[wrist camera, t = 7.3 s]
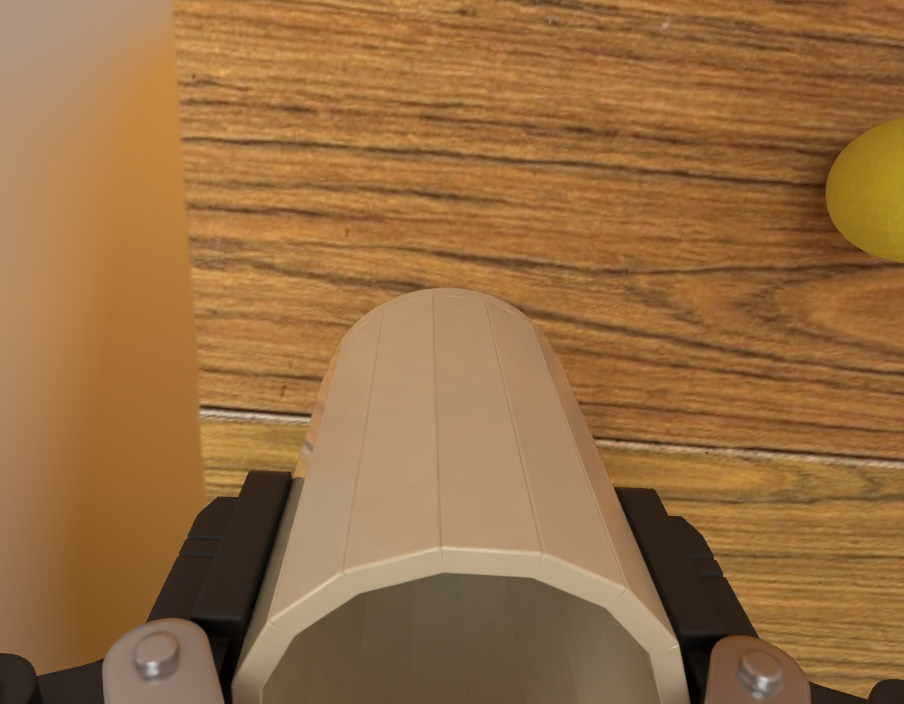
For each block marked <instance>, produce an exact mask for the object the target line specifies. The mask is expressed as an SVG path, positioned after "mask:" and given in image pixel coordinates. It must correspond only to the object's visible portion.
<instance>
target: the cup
mask: <svg viewBox="0 0 904 704" xmlns="http://www.w3.org/2000/svg"><path fill="white" fill-rule="evenodd" d="M231 701H232V704H691V700H690V695H689V690H688V685H687V680H686V675H685V670H684V665H683V660H682V656H681V651H680V646H679V643H678V640H677V638H676V635H675V633H674V631H673V628H672V626H671V624H670V621H669V619H668V616H667V614H666V612H665V609H664V607H663V604H662V602H661V600H660V597H659V595H658V592H657V590H656V588H655V585H654V583H653V581H652V578H651V576H650V573H649V571H648V569H647V566H646V564H645V561H644V559H643V557H642V554H641V552H640V549H639V547H638V545H637V542H636V540H635V538H634V535H633V533H632V530H631V528H630V526H629V523H628V521H627V518H626V516H625V514H624V511H623V509H622V506H621V504H620V502H619V499H618V497H617V495H616V492H615V490H614V487H613V485H612V483H611V480H610V478H609V475H608V473H607V471H606V468H605V466H604V463H603V461H602V459H601V456H600V454H599V452H598V449H597V447H596V444H595V442H594V440H593V437H592V435H591V432H590V430H589V428H588V425H587V423H586V420H585V418H584V416H583V413H582V411H581V409H580V406H579V404H578V401H577V399H576V397H575V394H574V392H573V389H572V387H571V385H570V382H569V380H568V377H567V375H566V373H565V370H564V368H563V366H562V363H561V361H560V359H559V357H558V356H557V355H556V353H555V352H554V350H553V348H552V346H551V344H550V342H549V341H548V340H547V338H546V337H545V335H544V334H543V332H542V331H541V330H540V329H539V328H538V327H537V326H536V325H535V324H534V322H533V321H532V320H531V319H529V318H528V317H527V316H526V315H524V314H523V313H522V312H521V311H519V310H518V309H516V308H515V307H513V306H511V305H510V304H508V303H506V302H504V301H502V300H500V299H497V298H495V297H493V296H490V295H487V294H483V293H480V292H477V291H472V290H465V289H459V288H435V289H425V290H420V291H415V292H411V293H407V294H404V295H402V296H399V297H396V298H393V299H391V300H389V301H387V302H385V303H383V304H381V305H379V306H378V307H376V308H375V309H373V310H372V311H370V312H369V313H367V314H366V315H365V316H363V317H362V318H361V319H360V320H359V321H358V322H357V323H356V324H355V325H353V327H352V328H351V329H350V330H349V331H348V333H347V334H346V335H345V336H344V337H343V339H342V341H341V342H340V344H339V345H338V347H337V349H336V350H335V353H334V355H333V357H332V359H331V362H330V364H329V368H328V370H327V372H326V374H325V376H324V378H323V380H322V383H321V387H320V390H319V393H318V397H317V400H316V403H315V407H314V410H313V413H312V417H311V420H310V423H309V427H308V430H307V433H306V437H305V440H304V443H303V447H302V450H301V453H300V457H299V460H298V463H297V467H296V470H295V473H294V477H293V480H292V483H291V486H290V490H289V493H288V496H287V500H286V503H285V506H284V510H283V513H282V516H281V520H280V523H279V526H278V530H277V533H276V536H275V540H274V543H273V546H272V550H271V553H270V556H269V560H268V563H267V566H266V570H265V573H264V576H263V580H262V583H261V586H260V590H259V593H258V596H257V600H256V603H255V606H254V610H253V613H252V616H251V620H250V623H249V626H248V629H247V633H246V636H245V639H244V643H243V646H242V649H241V653H240V656H239V659H238V663H237V666H236V669H235V673H234V676H233V679H232V683H231Z"/></svg>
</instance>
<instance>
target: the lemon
mask: <svg viewBox="0 0 904 704" xmlns="http://www.w3.org/2000/svg"><path fill="white" fill-rule="evenodd" d="M825 196H826V206H827V209H828V212H829V214H830V217H831V219H832V222H833V224H834V225H835V226H836V228H837V229H838V230H839V231H840V232H841V234H842V235H843V236H844V237H845V238H846V239H847V240H848V241H849V242H851V243H852V244H853V245H855V246H857V247H858V248H860V249H862V250H863V251H865V252H867V253H869V254H871V255H873V256H876V257H879V258H883V259H887V260H891V261H895V262H900V263H904V118H900V119H894V120H890V121H887V122H885V123H882V124H880V125H877V126H875V127H872V128H870V129H868V130H867V131H865V132H864V133H862V134H861V135H859V136H858V137H856V138H855V139H854V140H852V141H851V142H850V143H849V144H848V145H847V146H846V147H845V148H844V149H843V150H842V151H841V153H840V154H839V156H838V157H837V159H836V160H835V162H834V163H833V165H832V168H831V170H830V173H829V175H828V178H827V184H826V190H825Z"/></svg>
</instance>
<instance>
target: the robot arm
mask: <svg viewBox="0 0 904 704" xmlns="http://www.w3.org/2000/svg"><path fill="white" fill-rule="evenodd" d="M291 483H292V475H291V473H290V472H276V471H253V470H251V471H250V472H249V473H248V475H247V477H246V480H245V482H244V485H243V487H242V490H241V492H240V494H239V497H217V498H216V499H215V500H214V501H212V502H211V503H210V504H209V505H208V506H207V507H205V508H204V509H203V510H202V511H201V512H200V513H199V514H198V515H197V517H196V519H195V521H194V523H193V526H192V527H191V529H190V532H189V534H188V539H186V540H185V542H184V544H183V546H182V548H181V550H180V552H179V557H177V559H176V561H175V563H174V565H173V567H172V569H171V571H170V573H169V575H168V577H167V579H166V581H165V583H164V586H163V588H162V590H161V592H160V594H159V596H158V598H157V600H156V602H155V604H154V606H153V608H152V611H151V613H150V615H149V617H148V619H147V621H146V623H144V624H142V625H140V626H138V627H136V628H134V629H132V630H130V631H129V632H127V633H126V634H125V635H123V636H122V637H121V638H120V639H119V640H117V641H116V643H115V644H114V645H113V646H112V647H111V649H110V650H109V652H108V653H107V655H106V657H105V658H104V659H101V660H98V661H96V662H93V663H90V664H87V665H83V666H79V667H75V668H71V669H66V670H62V671H57V672H53V673H49V674H45V675H40V676H36V673H35V670H34V667H33V666H32V665H31V663H30V662H29V661H27V660H26V659H25V658H23V657H21V656H18V655H13V654H5V653H0V704H232V701H231V683H232V679H233V676H234V673H235V669H236V666H237V663H238V659H239V656H240V653H241V649H242V646H243V643H244V639H245V636H246V633H247V629H248V626H249V623H250V620H251V616H252V613H253V610H254V606H255V603H256V600H257V596H258V593H259V590H260V586H261V583H262V580H263V576H264V573H265V570H266V566H267V563H268V560H269V556H270V553H271V550H272V546H273V543H274V540H275V536H276V533H277V530H278V526H279V523H280V520H281V516H282V513H283V510H284V506H285V503H286V500H287V496H288V493H289V490H290V486H291ZM614 490H615V492H616V495H617V497H618V499H619V502H620V504H621V506H622V509H623V511H624V514H625V516H626V518H627V521H628V523H629V526H630V528H631V530H632V533H633V535H634V538H635V540H636V542H637V545H638V547H639V549H640V552H641V554H642V557H643V559H644V561H645V564H646V566H647V569H648V571H649V573H650V576H651V578H652V581H653V583H654V585H655V588H656V590H657V592H658V595H659V597H660V600H661V602H662V604H663V607H664V609H665V612H666V614H667V616H668V619H669V621H670V624H671V626H672V628H673V631H674V633H675V635H676V638H677V640H678V643H679V646H680V651H681V656H682V660H683V665H684V670H685V675H686V680H687V685H688V690H689V695H690V700H691V704H904V680H899V679H889V680H884V681H881V682H879V683H877V684H876V685H875V686H874V687H873V689H872V691H871V693H870V695H869V697H868V699H864V698H861V697H857V696H854V695H850V694H847V693H844V692H840V691H837V690H833V689H830V688H826V687H823V686H820V685H817V684H814V683H812V682H810V681H808V679H807V677H806V675H805V673H804V672H803V670H802V669H801V668H800V666H799V665H798V664H797V663H796V662H795V661H794V660H793V659H792V658H791V657H790V656H789V655H788V654H786V653H785V652H784V651H782V650H781V649H779V648H778V647H776V646H774V645H772V644H771V643H769V642H766V641H764V640H761V639H759V637H758V635H757V633H756V631H755V630H754V628H753V626H752V624H751V622H750V621H749V619H748V617H747V615H746V613H745V612H744V610H743V608H742V606H741V604H740V602H739V601H738V599H737V597H736V595H735V593H734V592H733V590H732V588H731V586H730V584H729V583H728V581H727V579H726V577H723V572H722V570H721V568H720V566H719V565H718V563H717V561H716V560H714V555H713V554H712V552H711V550H710V548H709V546H708V545H707V543H706V541H705V539H704V537H703V536H702V534H700V533H699V532H698V531H697V530H696V529H695V528H694V527H693V526H692V525H690V524H689V523H688V522H687V521H686V520H685V519H684V518H683V517H681V516H668V514H667V512H666V510H665V508H664V506H663V504H662V502H661V500H660V498H659V496H658V494H657V492H656V491H655V490H654V489H646V488H623V487H614Z"/></svg>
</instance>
